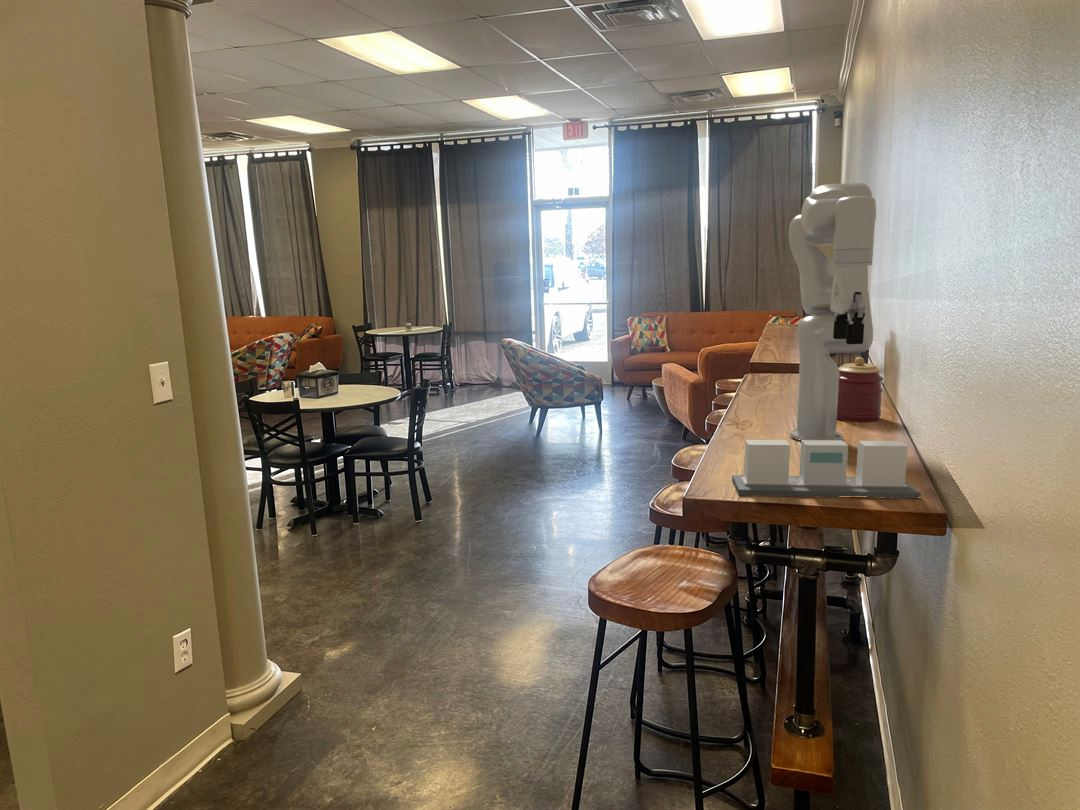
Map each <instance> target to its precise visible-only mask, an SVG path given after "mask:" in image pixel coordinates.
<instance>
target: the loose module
mask: <svg viewBox="0 0 1080 810" xmlns="http://www.w3.org/2000/svg"><path fill="white" fill-rule="evenodd" d="M848 456H849V445H848V444H847V443H846V442H845V441H844V440H843V439H842V440H801V441H800V457H799V459H800V461H799V474H798V476H799V478H800V480H801V481H802V482H803V484H836V485H846V477H847V469H848V458H849V457H848Z"/></svg>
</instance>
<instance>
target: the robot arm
mask: <svg viewBox="0 0 1080 810" xmlns="http://www.w3.org/2000/svg"><path fill="white" fill-rule="evenodd" d="M872 193H873V192H872V191H871V189H870V186H868V185H867V184H864V183H862V182H851V183H850V182H848V183H827V184H823V185H822V184H821V185H819V186H817V187H816V188H814V189H813V190H811V193H809V196H807V197H806V198H805V200H804V201H803V204H802V206H801V212H800V214H798V215H796V216H795V217H794V218H792V219H791V221H790V223H789V228H788V241H789V247H790V251H791V253H792V256H793V258H794V259H793V260H794V261H795V263H796V266H797V268H798V270H799V286H800V299H801V300H800V301H801V305H802V309H803V311H804V312H805V314H808V316H806V317H803V318H802V319H801V320H800V321H799V323H798V325H797V341H798V343H797V344H798V351H799V352H798V353H799V354H798V355H799V368H798V369H799V370H798V372H799V373H798V374H799V375H798V389H797V390H798V391H797V392H798V393H797V394H798V396H797V414H796V428H795V429H792V430H791V431H790V432H789V436H790V437H791V436H792V437H794V438H797V439H800V440H842V441H843V434H842V433H841V432H839V431H837V420H838V419H837V407H838V390H839V369H838V368H839V367H838V365H837V363H836V362H835V361H834V360H833V359H832V357H831V356H830V354H838V353H839V354H840V353H841V354H844V353H845V354H849V353H850V354H852V353H853V354H856V353H858V354H859V353H864V352H866V351H868V350H869V349H870V348H871V347H872V344H873V340H874V328H873V327H874V326H873V325H874V324H873V317H872V309H871V301H870V300H871V299H870V294H869V293H870V292H869V266H872V265H873V256H874V242H875V241H874V239H875V225H876V221H877V220H876V219H877V204H876V203H877V202H876V199H875V198H874V197H873V194H872ZM818 246H833V249H832V250H833V253H832V259H831V258H830V257H829V255H827V254H826V253H825V252H824V251H822V249H820V247H819V248H818Z"/></svg>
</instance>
